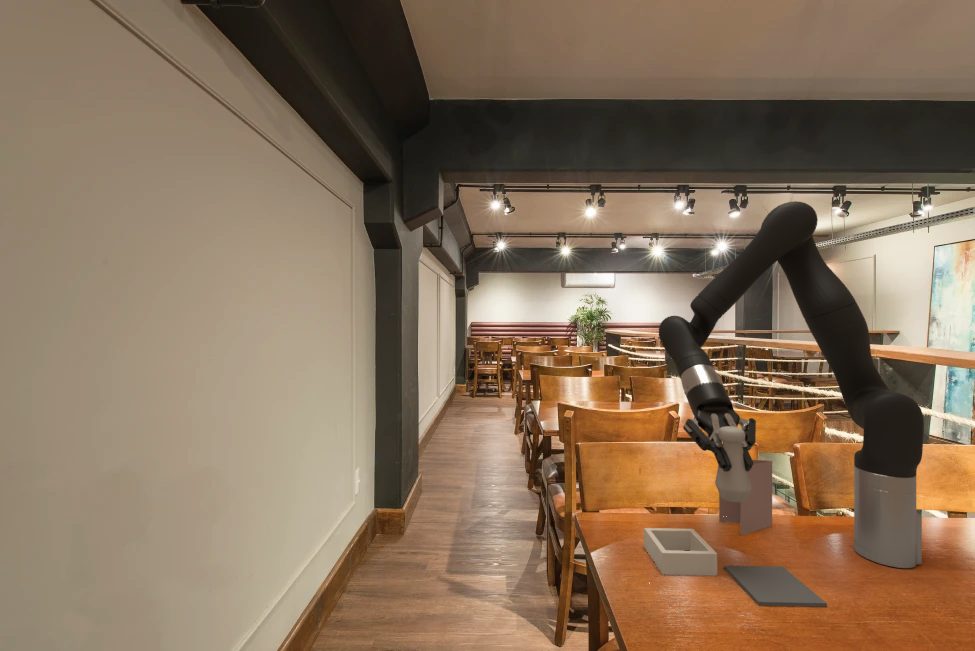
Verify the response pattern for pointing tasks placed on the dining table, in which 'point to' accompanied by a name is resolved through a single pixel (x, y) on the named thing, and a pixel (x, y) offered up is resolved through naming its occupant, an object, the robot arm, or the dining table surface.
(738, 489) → the salt shaker
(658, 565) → the collar
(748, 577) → the mat
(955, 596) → the dining table surface
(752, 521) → the greeting card
